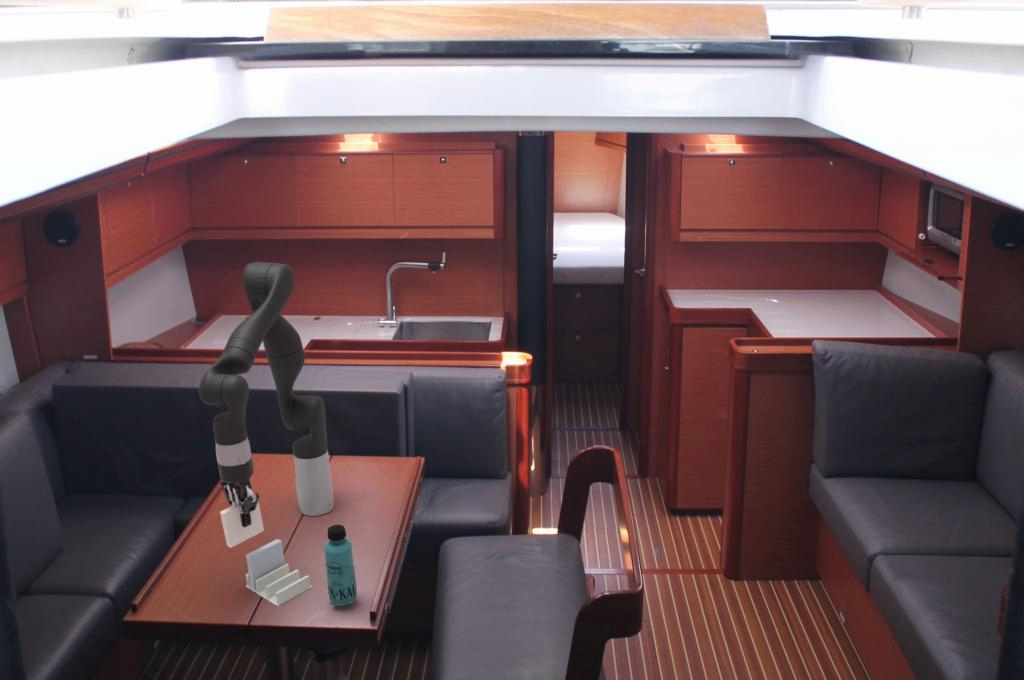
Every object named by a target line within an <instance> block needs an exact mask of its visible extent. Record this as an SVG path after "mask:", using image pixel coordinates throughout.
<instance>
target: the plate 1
mask: <svg viewBox="0 0 1024 680" xmlns="http://www.w3.org/2000/svg"><path fill="white" fill-rule="evenodd" d="M244 506H245V504H244V505H243V507H244ZM261 512H262V511H261V507H260V502H259V501H258V503H257V506H256V509H255V510H254V511H251V512H250V516H251V522H252V523H251V525H249V526H247V527H243V526H242V523H241V516H240V511H239V505H238V504H236V505H230V506H229V507H227V508H225V509H222V510H220V511H219V513H220V514H219V515H220V518H221V520H220V521H221V525H222V529H223V532H224V537H225V543H226V546H227V547H228V548H230V549H232V548H234V547H236V546H237V545H239V544H241V543H243V542H245V541H246V540H249V539H251V538H252V537H255V536H256V535H258V534H260V533H262V532H264V531H265V528H264V523H263V519H262V518H263V517H262V513H261Z"/></svg>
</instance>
